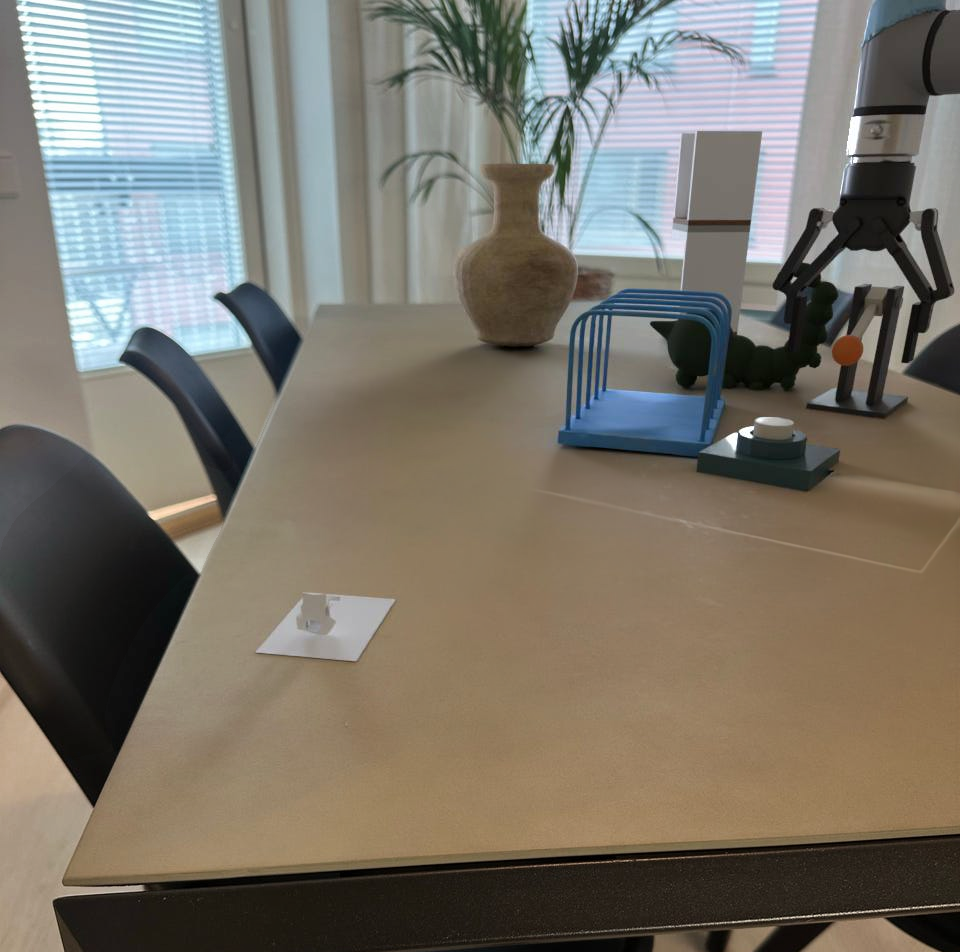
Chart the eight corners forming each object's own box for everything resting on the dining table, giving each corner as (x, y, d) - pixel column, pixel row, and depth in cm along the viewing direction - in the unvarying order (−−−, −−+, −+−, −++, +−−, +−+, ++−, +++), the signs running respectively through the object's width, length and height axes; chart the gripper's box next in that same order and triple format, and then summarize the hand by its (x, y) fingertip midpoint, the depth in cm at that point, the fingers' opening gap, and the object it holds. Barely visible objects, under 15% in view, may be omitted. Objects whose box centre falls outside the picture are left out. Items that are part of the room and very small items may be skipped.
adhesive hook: (295, 637, 63) (290, 596, 62) (308, 621, 65) (304, 581, 64) (337, 640, 63) (333, 599, 61) (348, 624, 65) (345, 584, 63)
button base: (837, 469, 99) (843, 432, 97) (807, 492, 92) (814, 453, 90) (731, 451, 105) (736, 416, 103) (696, 472, 98) (700, 435, 96)
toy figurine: (810, 399, 136) (645, 373, 143) (845, 264, 127) (668, 243, 134) (808, 413, 128) (634, 385, 135) (845, 270, 119) (657, 247, 126)
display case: (719, 334, 182) (742, 133, 166) (736, 342, 172) (762, 131, 156) (663, 334, 181) (680, 133, 165) (676, 343, 171) (696, 131, 156)
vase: (513, 360, 156) (516, 163, 142) (429, 344, 171) (425, 164, 157) (599, 345, 169) (609, 163, 156) (515, 331, 184) (517, 164, 170)
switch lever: (856, 373, 111) (858, 347, 108) (827, 369, 113) (828, 344, 110) (893, 309, 118) (896, 283, 115) (865, 307, 119) (866, 281, 117)
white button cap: (796, 436, 97) (799, 420, 96) (784, 444, 94) (786, 427, 93) (760, 431, 99) (762, 415, 98) (746, 438, 96) (749, 422, 96)
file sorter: (708, 460, 102) (724, 316, 95) (556, 448, 106) (561, 309, 99) (724, 410, 123) (739, 290, 116) (597, 402, 128) (604, 285, 121)
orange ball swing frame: (883, 425, 116) (909, 293, 109) (804, 414, 121) (825, 288, 114) (906, 407, 125) (932, 284, 117) (832, 398, 130) (853, 280, 123)
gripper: (760, 162, 106) (739, 351, 115) (998, 157, 93) (952, 371, 102) (782, 163, 111) (760, 343, 121) (1010, 158, 98) (965, 361, 108)
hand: (848, 356), depth 111 cm, fingers open, 13 cm apart
